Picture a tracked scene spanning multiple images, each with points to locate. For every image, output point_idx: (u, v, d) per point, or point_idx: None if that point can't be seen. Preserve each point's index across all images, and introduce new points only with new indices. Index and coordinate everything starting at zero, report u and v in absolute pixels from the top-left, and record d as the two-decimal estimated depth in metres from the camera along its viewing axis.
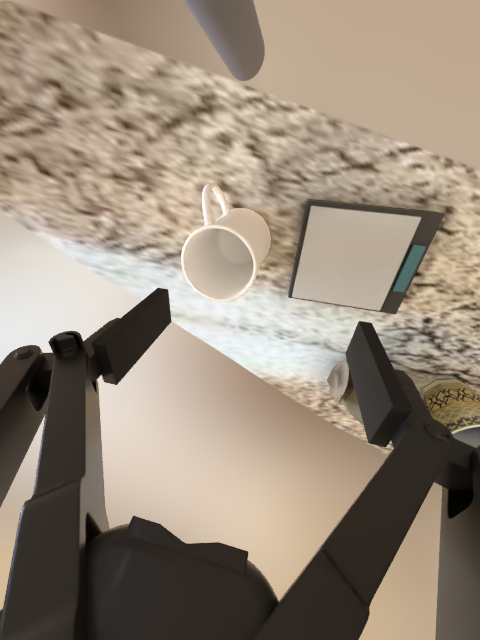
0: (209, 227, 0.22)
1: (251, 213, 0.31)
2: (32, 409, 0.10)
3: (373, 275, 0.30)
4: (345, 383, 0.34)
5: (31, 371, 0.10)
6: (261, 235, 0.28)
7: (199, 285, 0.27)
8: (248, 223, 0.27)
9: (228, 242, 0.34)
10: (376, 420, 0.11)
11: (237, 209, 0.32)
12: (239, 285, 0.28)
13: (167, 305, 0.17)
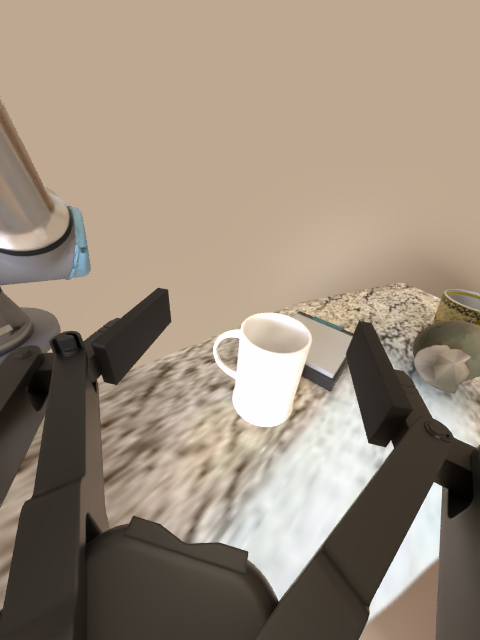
0: (245, 321, 0.28)
1: None
2: (32, 409, 0.10)
3: (326, 333, 0.43)
4: (434, 349, 0.34)
5: (31, 371, 0.10)
6: None
7: None
8: None
9: None
10: (376, 420, 0.11)
11: None
12: None
13: (167, 305, 0.17)
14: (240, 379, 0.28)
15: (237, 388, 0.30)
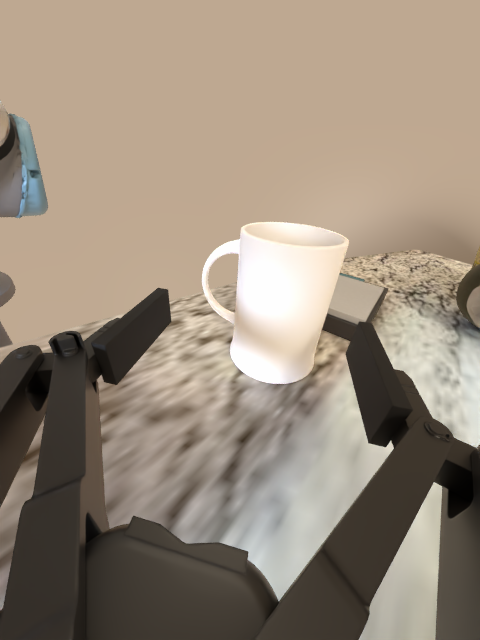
0: (247, 225, 0.19)
1: None
2: (32, 409, 0.10)
3: (345, 282, 0.35)
4: None
5: (31, 371, 0.10)
6: None
7: None
8: None
9: None
10: (376, 420, 0.11)
11: None
12: None
13: (167, 305, 0.17)
14: (241, 312, 0.20)
15: (237, 330, 0.21)
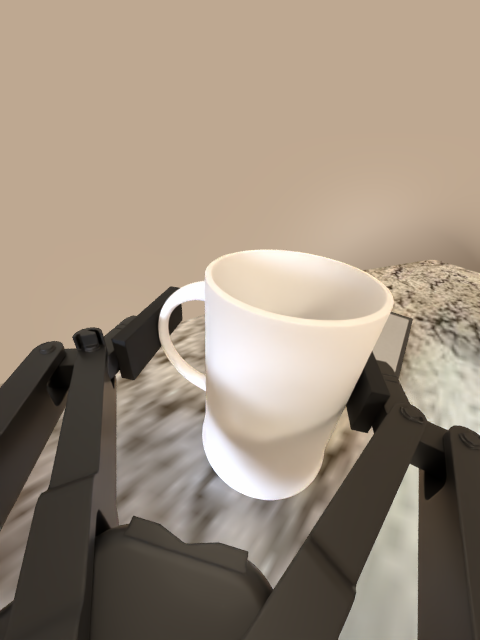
0: (219, 258, 0.12)
1: None
2: (52, 404, 0.10)
3: None
4: None
5: (53, 367, 0.10)
6: None
7: None
8: None
9: None
10: (358, 407, 0.11)
11: None
12: None
13: None
14: (210, 396, 0.12)
15: (207, 414, 0.14)
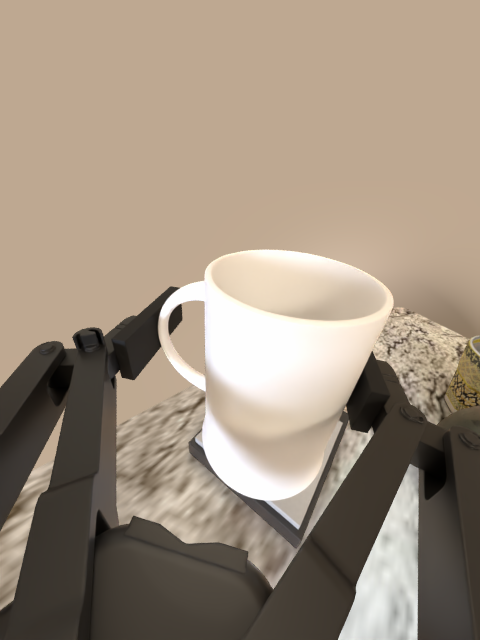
0: (219, 258, 0.12)
1: None
2: (52, 404, 0.10)
3: None
4: None
5: (53, 367, 0.10)
6: None
7: None
8: None
9: None
10: (358, 407, 0.11)
11: None
12: None
13: None
14: (210, 396, 0.12)
15: (207, 414, 0.14)
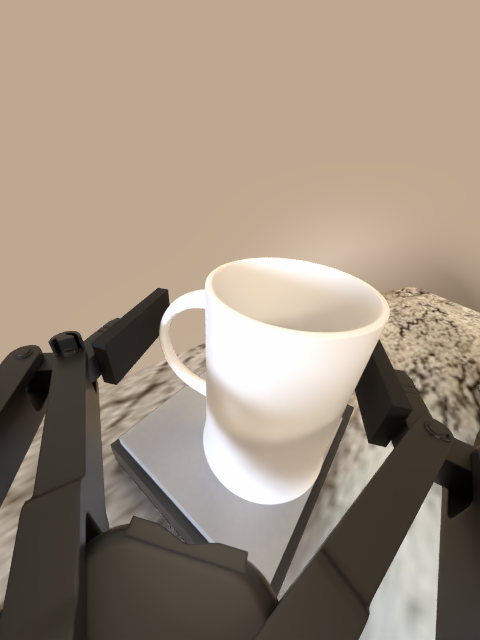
0: (219, 267, 0.12)
1: None
2: (32, 409, 0.10)
3: None
4: None
5: (31, 371, 0.10)
6: None
7: None
8: None
9: None
10: (376, 420, 0.11)
11: None
12: None
13: (167, 305, 0.17)
14: (211, 402, 0.12)
15: (208, 420, 0.14)
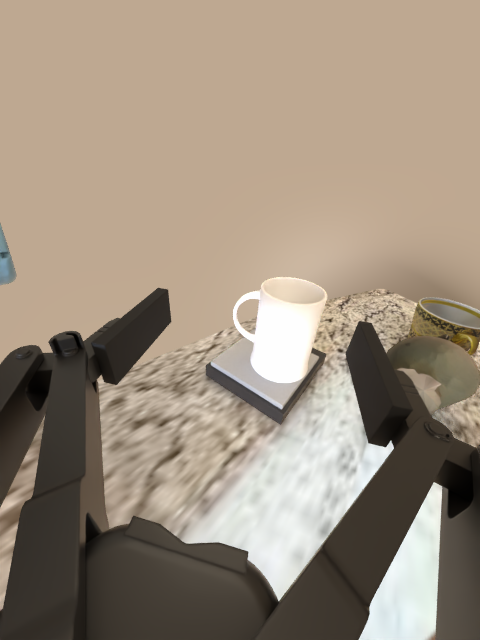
0: (264, 282, 0.30)
1: None
2: (32, 409, 0.10)
3: None
4: None
5: (31, 371, 0.10)
6: None
7: None
8: None
9: None
10: (376, 420, 0.11)
11: None
12: None
13: (167, 305, 0.17)
14: (260, 337, 0.31)
15: (256, 347, 0.32)
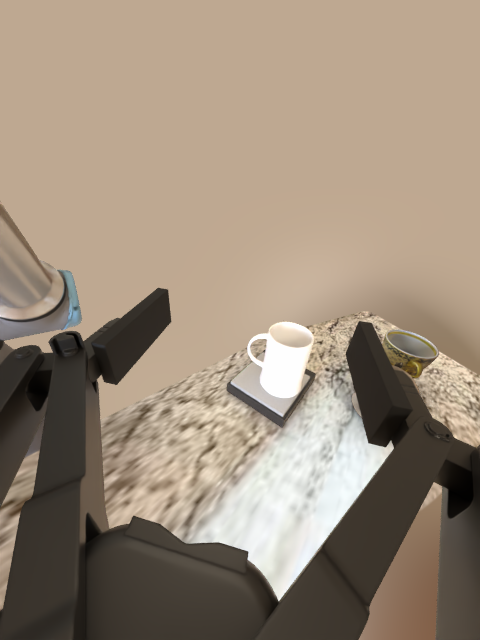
0: (270, 327, 0.43)
1: None
2: (32, 409, 0.10)
3: None
4: None
5: (31, 371, 0.10)
6: None
7: None
8: None
9: None
10: (376, 420, 0.11)
11: None
12: None
13: (167, 305, 0.17)
14: (267, 365, 0.44)
15: (264, 372, 0.45)
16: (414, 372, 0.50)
